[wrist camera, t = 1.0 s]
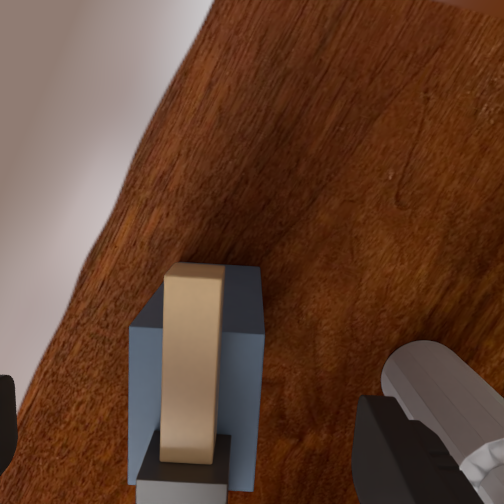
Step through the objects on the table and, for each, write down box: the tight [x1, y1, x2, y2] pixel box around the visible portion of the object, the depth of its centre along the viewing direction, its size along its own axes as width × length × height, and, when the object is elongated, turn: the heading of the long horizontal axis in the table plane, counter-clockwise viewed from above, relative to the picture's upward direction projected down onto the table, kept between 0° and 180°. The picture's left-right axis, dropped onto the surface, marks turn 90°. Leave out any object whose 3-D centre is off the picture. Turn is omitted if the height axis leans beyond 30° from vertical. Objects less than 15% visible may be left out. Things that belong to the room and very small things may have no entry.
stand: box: [128, 262, 265, 492], centre depth 26 cm, size 8×6×13 cm
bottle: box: [381, 340, 504, 504], centre depth 26 cm, size 6×6×16 cm
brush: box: [136, 263, 232, 504], centre depth 18 cm, size 12×4×3 cm, turn 176°
